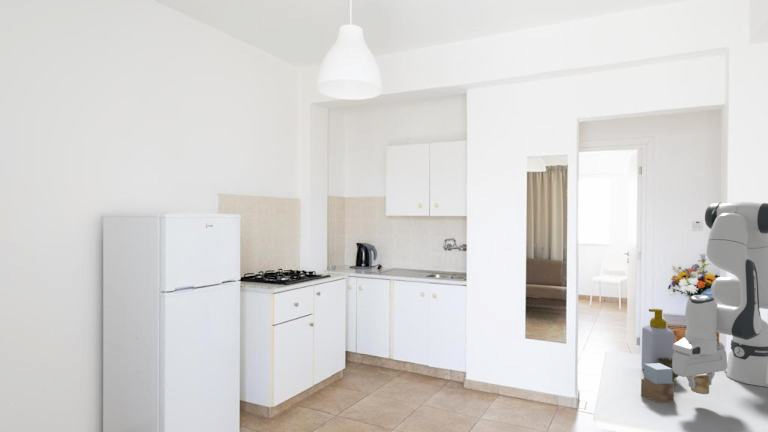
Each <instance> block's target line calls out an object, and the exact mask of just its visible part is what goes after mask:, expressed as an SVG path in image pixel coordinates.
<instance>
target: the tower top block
mask: <svg viewBox="0 0 768 432" xmlns="http://www.w3.org/2000/svg"><path fill="white" fill-rule="evenodd" d="M672 371H673V370H672V368H669V367H667V366H665V365H663V364H660V363H650V364H644V369H643V378H645V379H647V380H649V381H651V382H653V383H655V384H672Z"/></svg>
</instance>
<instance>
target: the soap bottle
mask: <svg viewBox="0 0 768 432" xmlns="http://www.w3.org/2000/svg"><path fill="white" fill-rule="evenodd" d="M648 312H650V313H654V317H652V318H651V319H650V320H649V325H645V326H642V328H641V369H642V370H644V364H650V363H659V361H658V359H659V358H660V359H661V358H663V359H664V357H665V358H666V359H667V358H669V359H670V360H671V358H673V353H674V352H675V350H674V349H673V344H674V343H675V332H674V331H673V330H672V329H670V328H668V327H667V321H666V320H665V319H663V309H661V308H648Z"/></svg>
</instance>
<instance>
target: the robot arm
mask: <svg viewBox="0 0 768 432" xmlns="http://www.w3.org/2000/svg"><path fill="white" fill-rule="evenodd" d="M704 221H705V225H706V226H707V227H708V228H709V229H710V231H709V236H708V239H707V240H708V241H707V245H706V256H707V259H708V261H710V262H711V264H712V265H714V266H715V267H717V268H719V269H721V270H723V271H725V272H727V273H730V274H732V275H734V276H719V277H717V278H715V279H714V280H713V282H712V283H711V287H710V291H711V295H712V296H710V295H707V294H694V295H691V296H689V297H688V299H687V301H686V306H685V312H684V313H685V314H684V317H685V318H684V322H685V325H686V327H685V328H686V329H685V332H684V337H682V338H681V339H679V340H678V341H676V342H674V344H673V349H674V353H673V358H672V370H673V372H674V373H675V374H676V375H679V376H678V377H682V378H686V380H687V381H688V386H689V388H690V389H691V388H696V387H697V382H695V381H694V379H693V378H695V375H699V374H703V375H706V376H708V377H709V386H712V382H713V378H714V377H715V373H718V372H724V373H726V376H727V377H728V378H729V379H731V380H734V381H736V382H739V383H743V384H748V385H753V386H759V387H767V388H768V322H766V321H765V320H764V319H763V318H761V317H762V316H761V311H760V309H764V310H768V203H767V202H766V203H765V202H763V203H760V202H749V201H741V202H725V203H722V202H715V203H711V204H710V205H709V206H708V207H707V208H706V210H705V214H704ZM716 301H717V302H716ZM718 302H719V303H718ZM717 333H719V334H723V335H728V336H732V339H731V342H730V349H731V351H729V352H728V357H727V352H726V350H725V349H726V348H725V345H724V344H723V343H721V342H718V336H717V335H718V334H717Z"/></svg>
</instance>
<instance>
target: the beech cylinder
mask: <svg viewBox="0 0 768 432" xmlns="http://www.w3.org/2000/svg"><path fill="white" fill-rule="evenodd" d="M693 379H694V381H695V382H697V387H696V388H691V387H690V390H691V391H692V392H693V393H696V394H701V395H708V394H710V385H709V377H708V376H706V374H699V375H695V378H693Z"/></svg>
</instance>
